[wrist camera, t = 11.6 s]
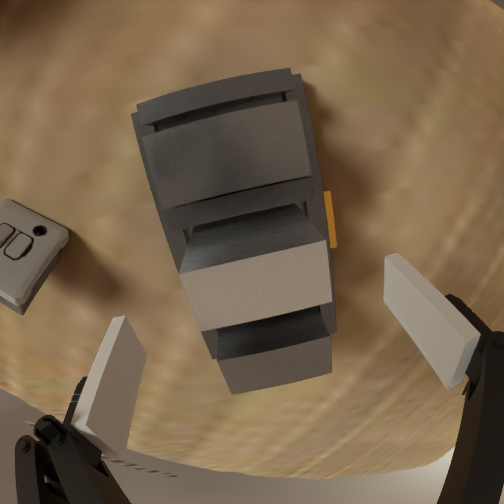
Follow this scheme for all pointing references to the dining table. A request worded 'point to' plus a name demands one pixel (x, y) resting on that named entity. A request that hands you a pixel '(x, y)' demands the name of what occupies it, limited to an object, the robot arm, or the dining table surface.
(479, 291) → the dining table surface
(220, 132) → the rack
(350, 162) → the dining table surface
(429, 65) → the dining table surface
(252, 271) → the grey block
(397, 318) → the robot arm
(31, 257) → the electrical switch
